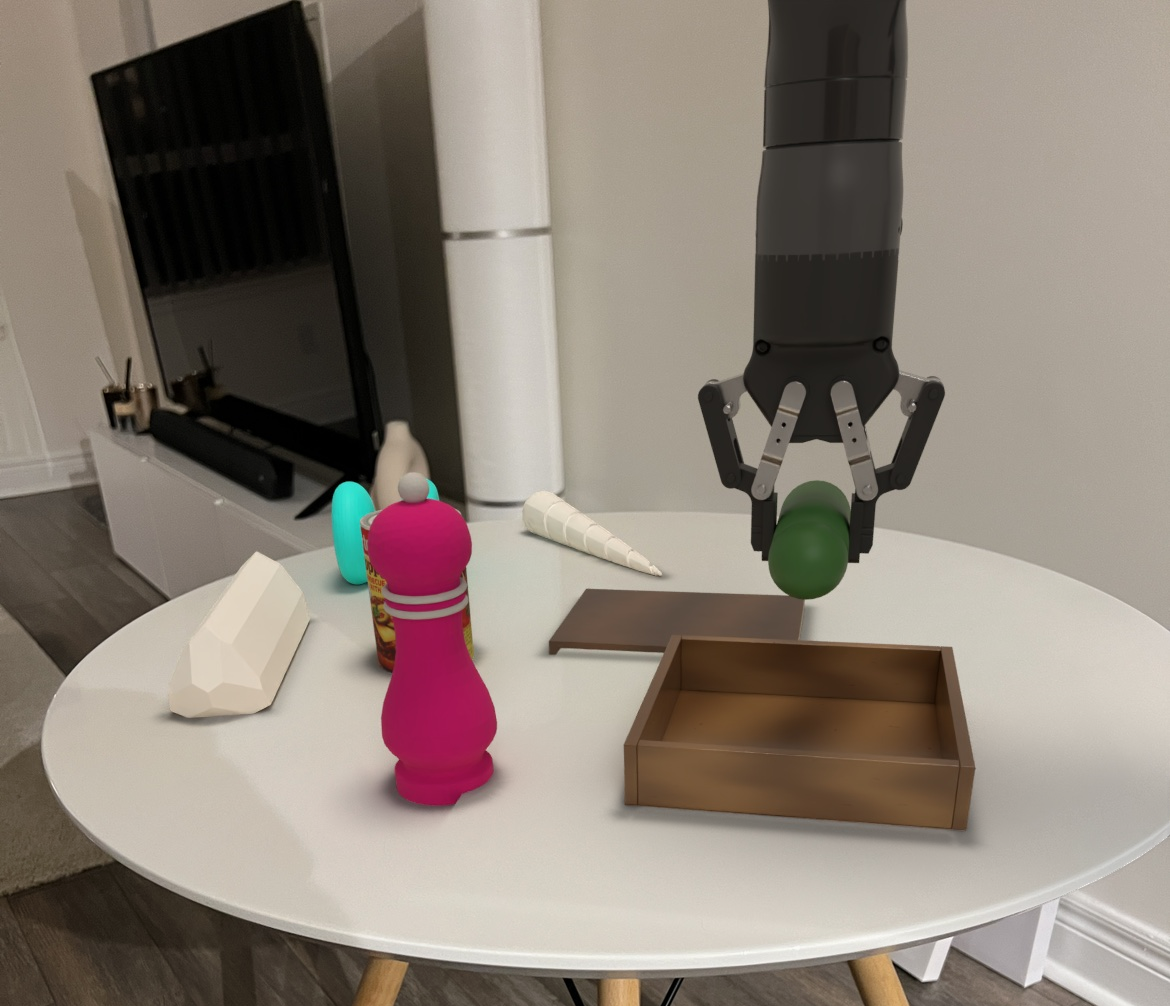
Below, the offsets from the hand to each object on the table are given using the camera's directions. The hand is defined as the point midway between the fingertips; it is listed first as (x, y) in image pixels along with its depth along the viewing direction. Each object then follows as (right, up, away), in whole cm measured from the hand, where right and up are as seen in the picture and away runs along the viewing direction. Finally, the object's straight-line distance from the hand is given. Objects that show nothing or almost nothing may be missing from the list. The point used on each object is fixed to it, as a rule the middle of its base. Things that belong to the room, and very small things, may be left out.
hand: (811, 557), depth 66 cm
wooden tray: (0, -12, +6) cm, 14 cm away
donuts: (-33, +7, +45) cm, 56 cm away
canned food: (-27, -4, +25) cm, 37 cm away
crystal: (-42, -4, +25) cm, 49 cm away
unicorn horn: (-13, +11, +52) cm, 54 cm away
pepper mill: (-23, -14, +5) cm, 27 cm away
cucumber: (0, -1, 0) cm, 1 cm away
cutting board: (-5, -1, +28) cm, 29 cm away
